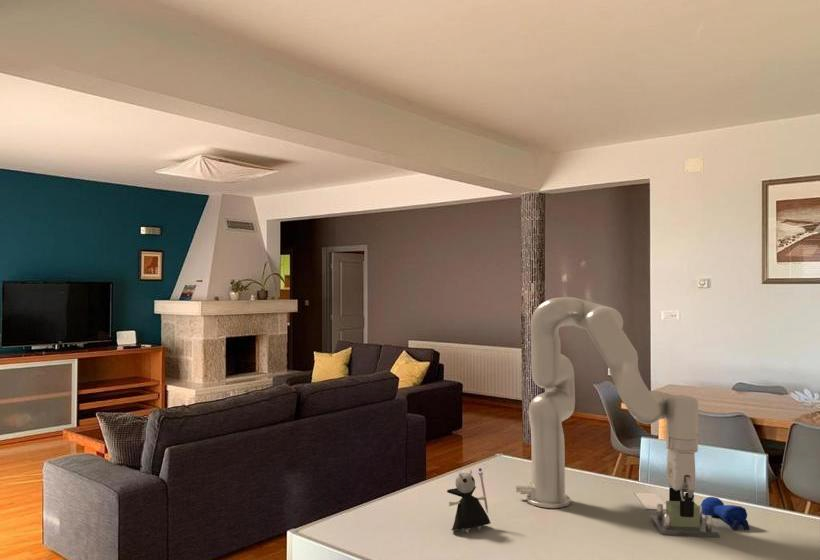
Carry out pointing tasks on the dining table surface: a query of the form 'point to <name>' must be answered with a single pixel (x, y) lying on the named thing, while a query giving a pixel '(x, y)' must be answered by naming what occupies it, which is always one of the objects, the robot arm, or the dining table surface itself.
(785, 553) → the dining table surface
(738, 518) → the toy
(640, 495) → the smartphone
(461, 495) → the toy
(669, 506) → the block
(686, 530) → the chassis
